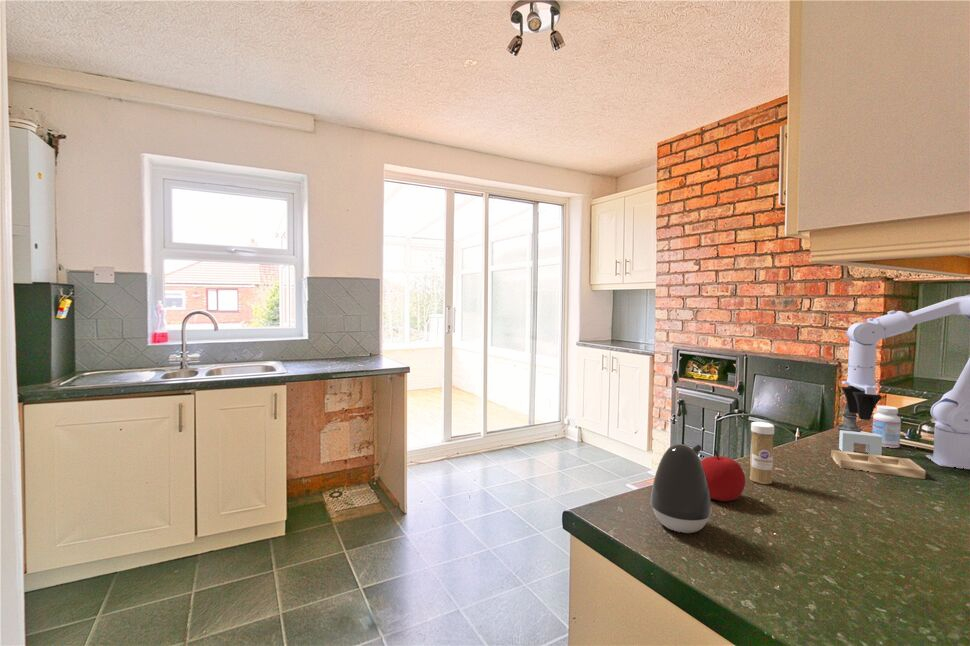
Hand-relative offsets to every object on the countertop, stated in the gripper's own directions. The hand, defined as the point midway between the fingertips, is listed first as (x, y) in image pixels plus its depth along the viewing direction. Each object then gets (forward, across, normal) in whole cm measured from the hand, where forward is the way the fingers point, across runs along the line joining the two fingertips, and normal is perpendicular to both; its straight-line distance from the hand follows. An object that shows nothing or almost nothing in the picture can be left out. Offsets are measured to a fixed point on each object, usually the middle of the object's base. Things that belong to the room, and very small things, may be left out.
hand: (859, 416), depth 123 cm
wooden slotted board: (+10, +11, 0) cm, 15 cm away
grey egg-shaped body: (+11, +63, -45) cm, 78 cm away
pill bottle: (+11, -12, +10) cm, 19 cm away
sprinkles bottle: (+11, +33, -28) cm, 44 cm away
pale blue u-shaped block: (+10, -1, +1) cm, 10 cm away
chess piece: (+11, -15, +2) cm, 18 cm away
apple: (+11, +46, -37) cm, 61 cm away
